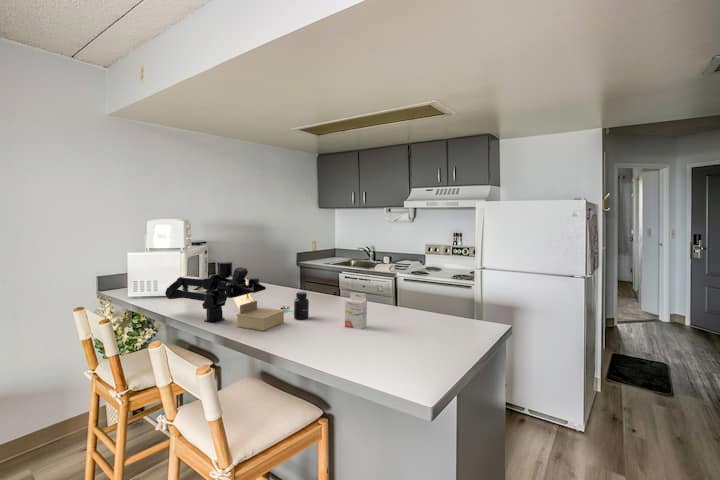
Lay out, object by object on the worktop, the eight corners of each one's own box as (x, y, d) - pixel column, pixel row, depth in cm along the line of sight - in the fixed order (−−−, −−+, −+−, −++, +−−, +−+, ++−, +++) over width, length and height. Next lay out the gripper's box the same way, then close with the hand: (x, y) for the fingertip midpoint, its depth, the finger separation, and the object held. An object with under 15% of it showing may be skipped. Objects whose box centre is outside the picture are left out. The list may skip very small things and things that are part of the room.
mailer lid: (236, 316, 160) (236, 306, 160) (258, 308, 174) (258, 299, 173) (263, 319, 154) (263, 310, 154) (284, 311, 168) (284, 302, 168)
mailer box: (237, 327, 161) (237, 316, 160) (258, 319, 174) (258, 308, 173) (263, 331, 155) (263, 319, 155) (283, 322, 168) (283, 311, 168)
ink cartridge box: (344, 327, 162) (344, 293, 161) (349, 324, 167) (349, 291, 166) (362, 329, 158) (362, 295, 157) (367, 326, 163) (367, 293, 162)
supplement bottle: (305, 320, 172) (305, 294, 171) (291, 319, 173) (291, 294, 172) (310, 316, 179) (310, 291, 178) (297, 315, 180) (297, 291, 179)
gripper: (215, 269, 157) (244, 273, 151) (245, 265, 174) (272, 269, 168) (214, 295, 158) (243, 300, 152) (244, 289, 175) (271, 293, 169)
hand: (258, 289), depth 160 cm, fingers open, 9 cm apart
